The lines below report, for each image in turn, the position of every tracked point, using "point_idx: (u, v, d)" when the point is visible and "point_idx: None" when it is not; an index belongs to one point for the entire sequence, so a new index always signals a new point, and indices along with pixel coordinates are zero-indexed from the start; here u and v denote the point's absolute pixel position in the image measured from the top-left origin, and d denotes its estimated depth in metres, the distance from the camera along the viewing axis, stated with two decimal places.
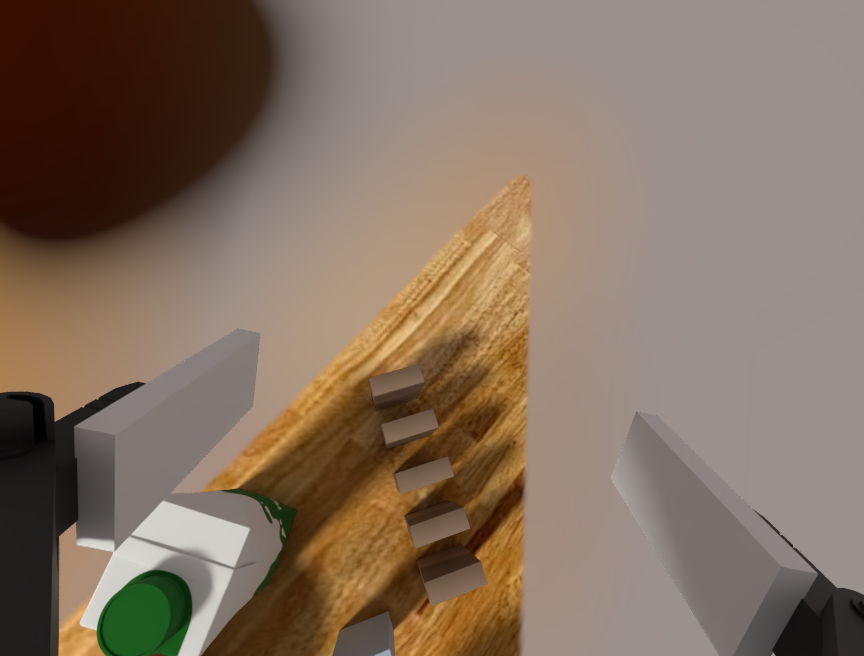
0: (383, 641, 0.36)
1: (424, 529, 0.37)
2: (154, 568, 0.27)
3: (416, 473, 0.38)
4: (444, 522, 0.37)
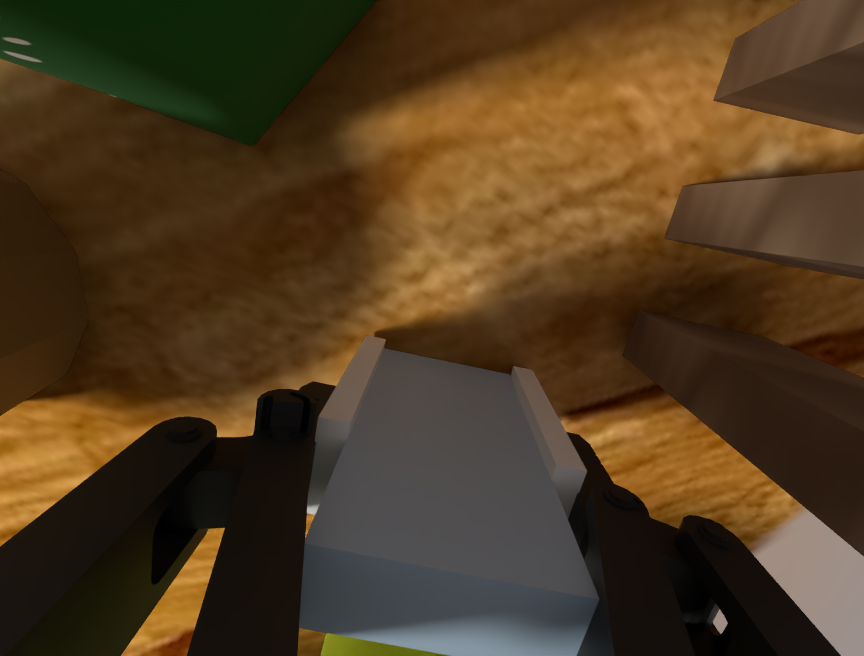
0: (541, 506, 0.09)
1: None
2: None
3: None
4: None
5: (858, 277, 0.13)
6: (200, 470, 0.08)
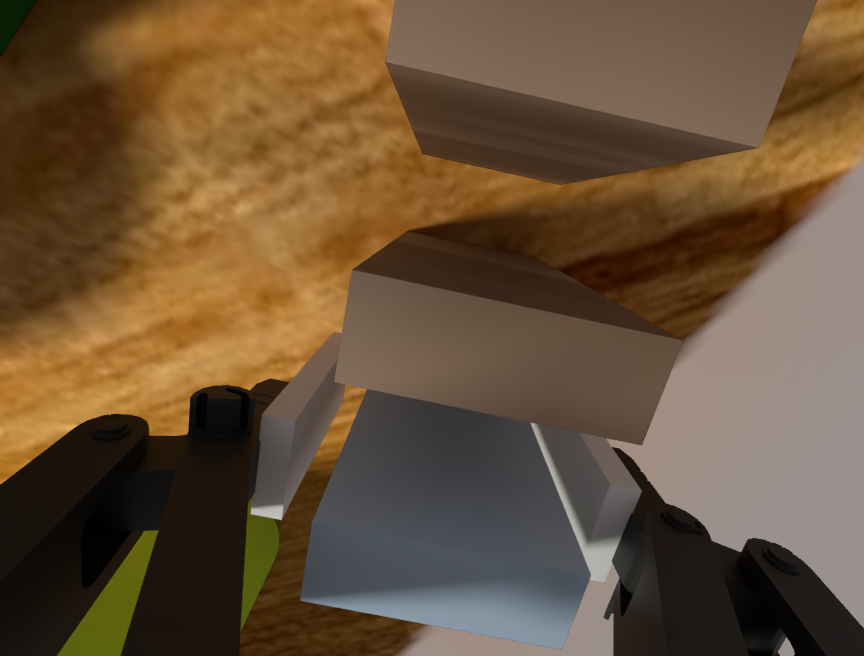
0: (537, 490, 0.10)
1: None
2: None
3: None
4: (641, 13, 0.05)
5: (567, 175, 0.12)
6: (132, 468, 0.08)
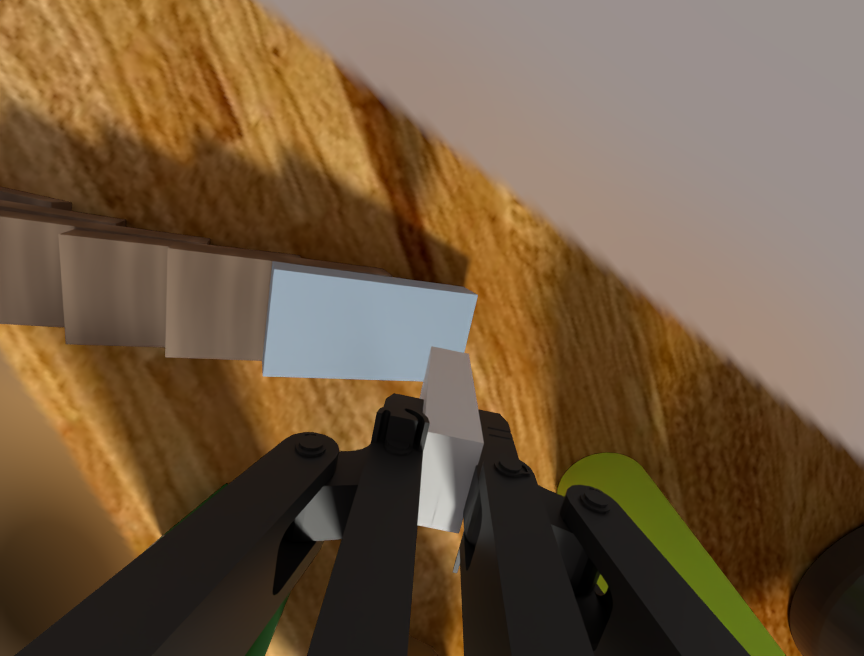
0: None
1: None
2: None
3: None
4: None
5: None
6: (322, 487, 0.09)
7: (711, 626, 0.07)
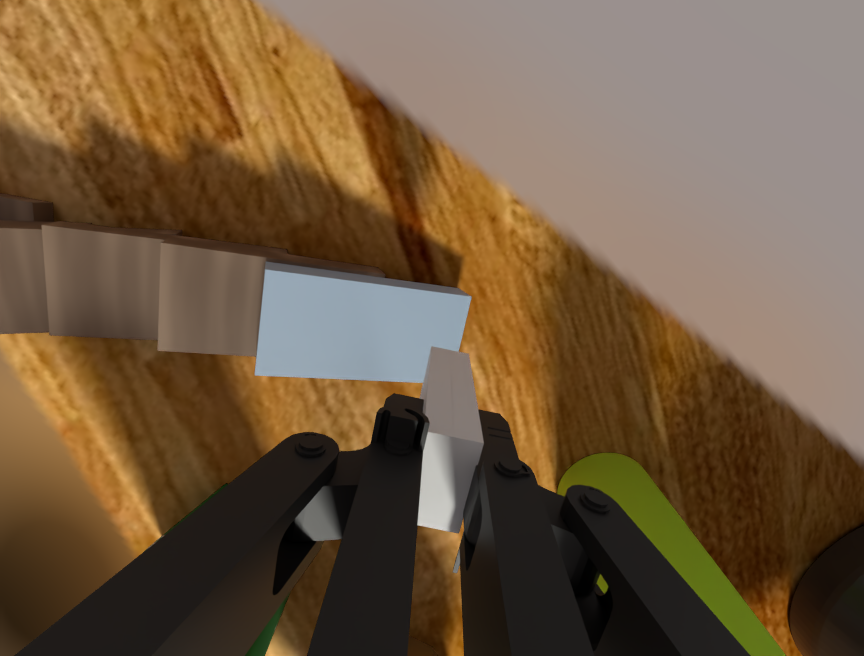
0: None
1: None
2: None
3: None
4: None
5: None
6: (322, 487, 0.09)
7: (711, 625, 0.07)
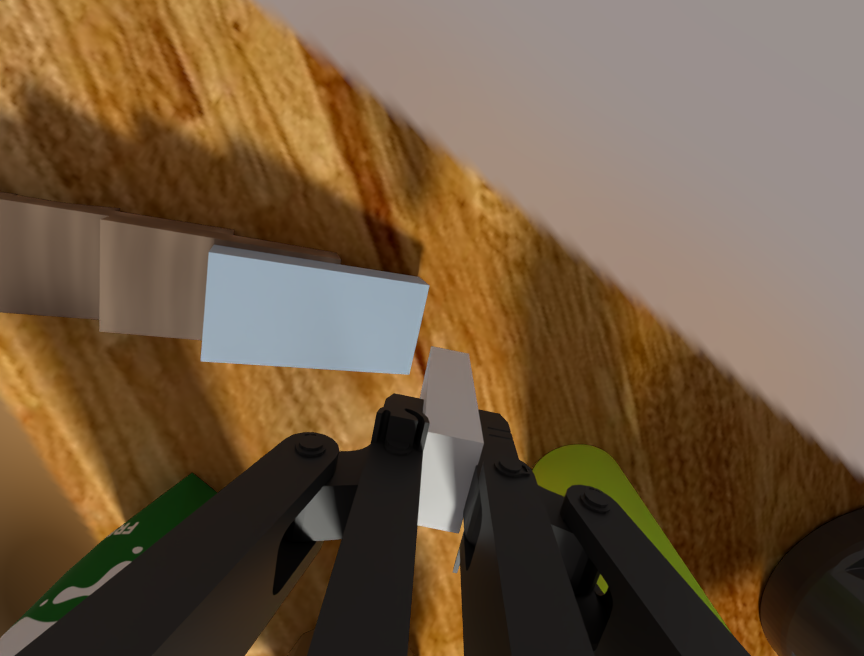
0: None
1: None
2: None
3: None
4: None
5: None
6: (322, 487, 0.09)
7: (711, 625, 0.07)
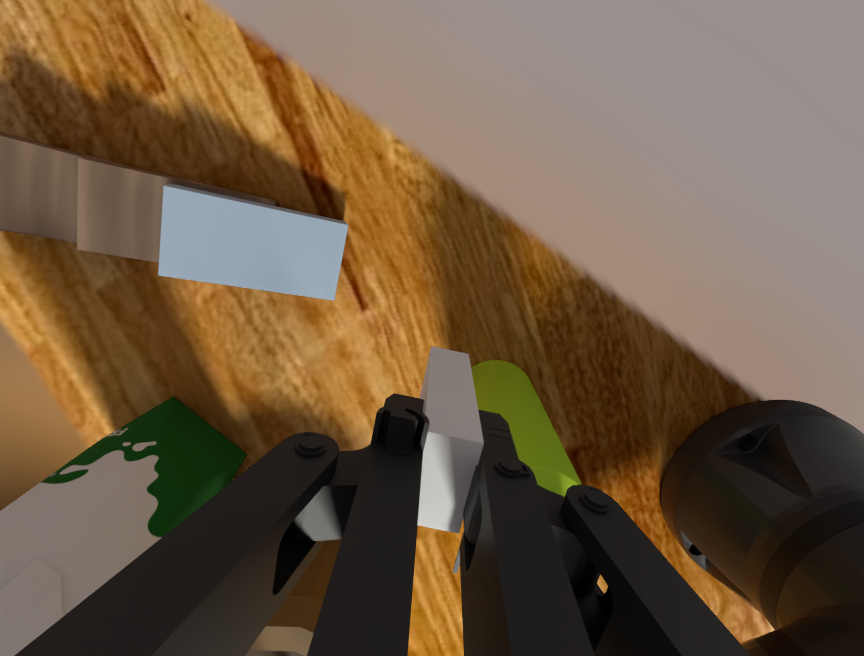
0: None
1: None
2: None
3: None
4: None
5: None
6: (322, 487, 0.09)
7: (711, 625, 0.07)
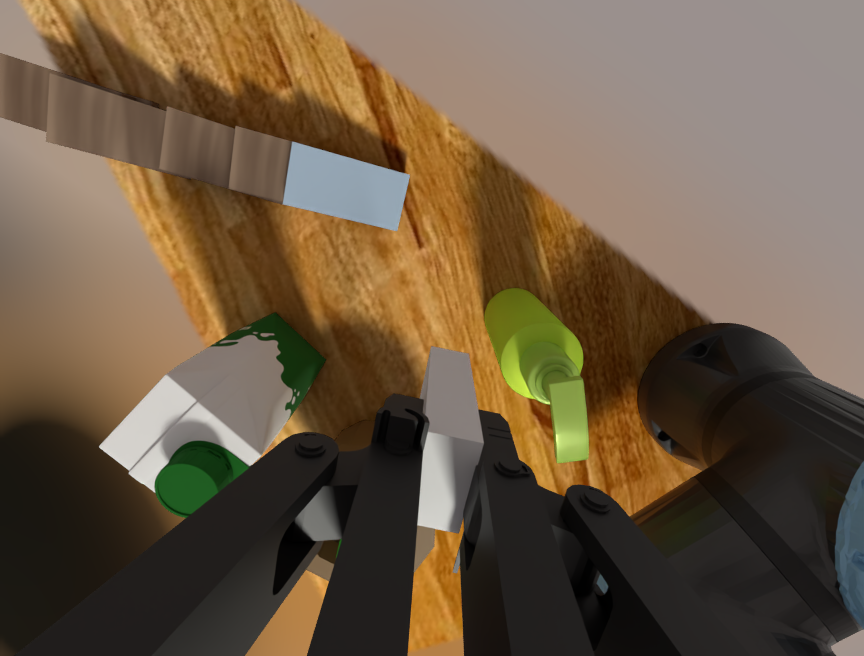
0: None
1: None
2: (168, 459, 0.28)
3: None
4: None
5: None
6: (322, 487, 0.09)
7: (711, 625, 0.07)
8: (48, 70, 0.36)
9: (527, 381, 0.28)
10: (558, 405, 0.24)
